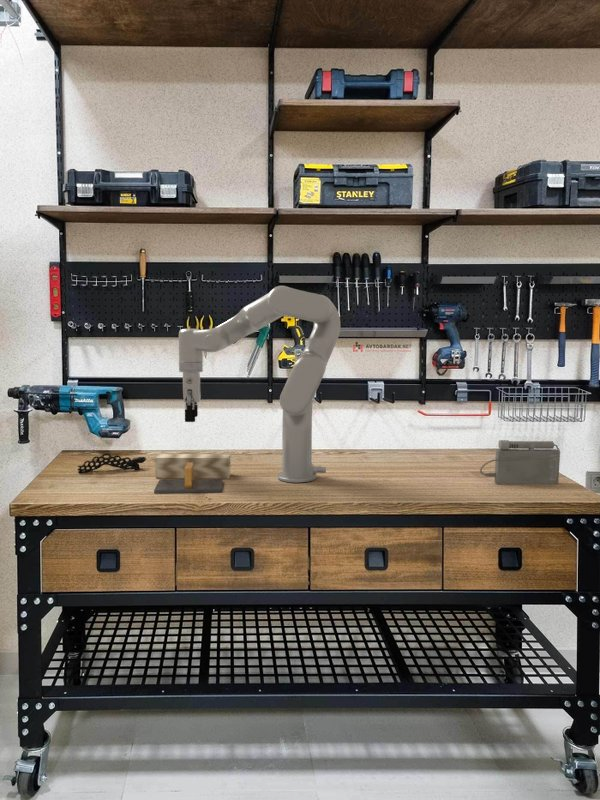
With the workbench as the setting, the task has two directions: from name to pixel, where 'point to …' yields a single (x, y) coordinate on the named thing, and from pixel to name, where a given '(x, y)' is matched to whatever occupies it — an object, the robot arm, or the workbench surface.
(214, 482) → the stand
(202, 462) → the maple bar
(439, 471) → the workbench surface
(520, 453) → the geiger counter
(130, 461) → the decorative element
